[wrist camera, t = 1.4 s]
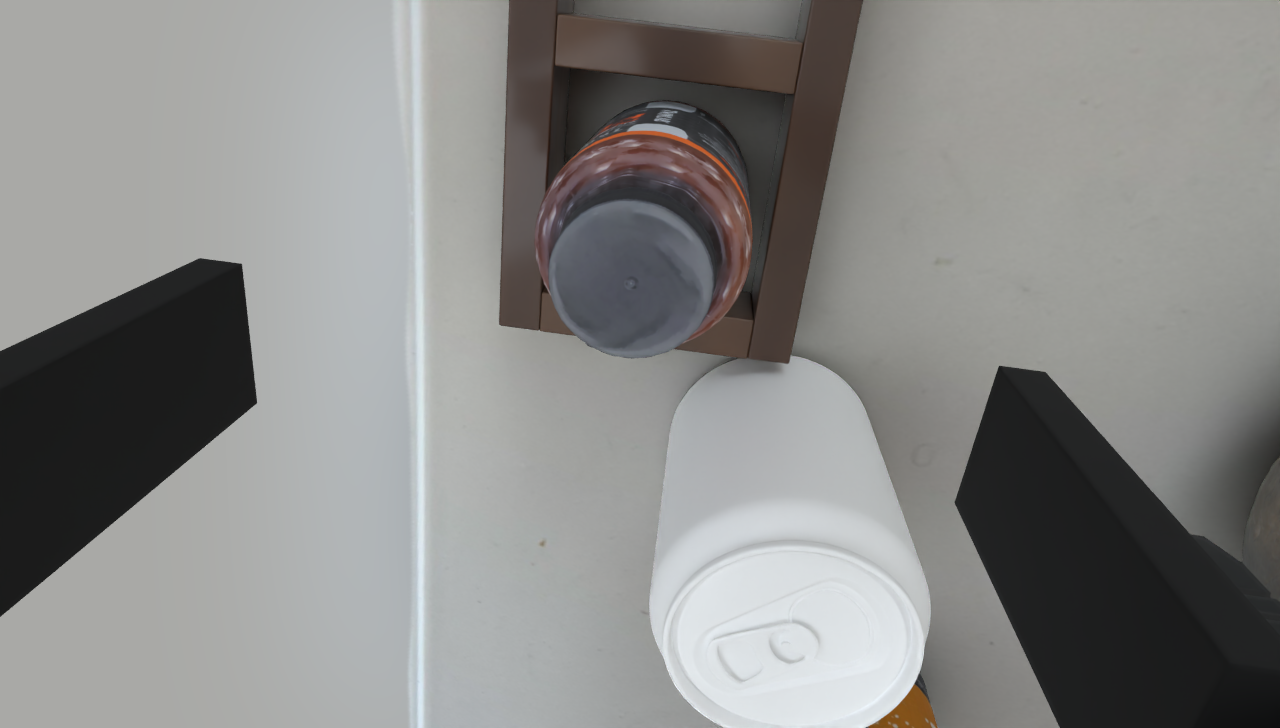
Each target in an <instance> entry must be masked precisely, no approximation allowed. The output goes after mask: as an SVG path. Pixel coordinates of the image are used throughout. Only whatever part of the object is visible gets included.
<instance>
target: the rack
mask: <svg viewBox="0 0 1280 728" xmlns="http://www.w3.org/2000/svg"><path fill="white" fill-rule="evenodd" d="M862 3H863V0H802V5H801V10H800V16H799V22H798V28H797V33H796V39H791V38H783V37H774V36H766V35H757V34H749V33H740V32H731V31H723V30H714V29H706V28H697V27H689V26H680V25H671V24H663V23H654V22H646V21H637V20H629V19H620V18H611V17H603V16H594V15H586V14H577V13H573V12H574V0H509V25H508V57H507V89H506V121H505V153H504V185H503V216H502V248H501V280H500V312H499V324H500V325H501V326H509V327H516V328H524V329H531V330H540V331H544V332H551V333H559V334H566V335H574V336H576V335H575V334H574V333H573V332H571V331H570V329H569V328H568V327H567V326H566V325H565V324H564V322H563V321H562V320H561V318H560V316H559V314H558V312H557V311H556V309H555V306H554V304H553V301H552V297H551V296H550V294H549V292H548V290H547V288H546V286H545V285H544V281H543V279H542V276H541V274H540V271H539V265H538V263H537V259H536V252H535V245H534V241H535V227H536V220H537V216H538V213H539V209H540V205H541V203H542V200H543V198H544V196H545V193H546V191H547V189H548V188H549V186H550V185H551V183H552V182H553V180H554V179H555V177H556V175H557V174H558V173H559V172H560V171H561V170H562V168H563V167H564V155H565V139H566V123H567V107H568V91H569V76H570V68H575V69H583V70H592V71H600V72H608V73H617V74H625V75H633V76H642V77H650V78H658V79H667V80H675V81H683V82H692V83H700V84H708V85H717V86H725V87H734V88H742V89H750V90H759V91H767V92H775V93H784V94H786V97H785V102H784V108H783V114H782V120H781V125H780V131H779V137H778V143H777V148H776V154H775V160H774V166H773V171H772V177H771V183H770V189H769V194H768V200H767V206H766V212H765V217H764V223H763V229H762V235H761V240H760V246H759V252H758V258H757V263H756V269H755V275H754V281H753V286H752V292H751V293H750V292H743V291H741V292H740V294H739V296H738V298H737V300H736V301H735V303H734V304H733V306H732V307H731V308H730V310H729V311H728V312H727V313H726V314H725V315H724V317H723V318H722V319H721V320H720V321H719V322H718V323H717V324H716V325H714V326H713V327H712V328H711V329H709V330H708V331H706V332H705V333H703V334H702V335H700V336H698V337H696V338H694V339H692V340H690V341H688V342H685V343H683V344H681V345H679V346H678V347H676V348H674V349H678V350H685V351H692V352H700V353H707V354H715V355H722V356H730V357H737V358H744V359H747V357H748V358H749V359H754V360H762V361H769V362H777V363H784V364H788V363H789V362H790V357H791V352H792V347H793V342H794V337H795V333H796V328H797V323H798V318H799V313H800V308H801V303H802V298H803V293H804V288H805V283H806V279H807V274H808V269H809V264H810V259H811V254H812V249H813V244H814V239H815V234H816V229H817V224H818V220H819V215H820V210H821V205H822V200H823V195H824V190H825V185H826V180H827V175H828V170H829V166H830V161H831V156H832V151H833V146H834V141H835V136H836V131H837V126H838V121H839V116H840V111H841V107H842V102H843V97H844V92H845V87H846V82H847V77H848V72H849V67H850V62H851V57H852V53H853V48H854V43H855V38H856V33H857V28H858V23H859V18H860V13H861V8H862Z"/></svg>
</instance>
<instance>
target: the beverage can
mask: <svg viewBox="0 0 1280 728" xmlns="http://www.w3.org/2000/svg"><path fill="white" fill-rule="evenodd" d="M649 613H650V621H651V627H652V631H653V634H654V638H655V640H656V643H657V646H658V648H659V650H660V652H661V654H662V656H663V657H664V661H665V664H666V668H667V670H668V673H669V675H670V677H671V679H672V681H673V683H674V685H675V686H676V688H677V689H678V691H679V692H680V693H681V695H682V696H683V697H684V698H685V699H686V700H687V701H688V702H689V703H690V704H691V705H692V706H693V707H694V708H695V709H696V710H697V711H698V712H700V713H701V714H702V715H704V716H705V717H707V718H708V719H710V720H711V721H713V722H715V723H716V724H718V725H720V726H722V727H724V728H866V727H868V726H870V725H872V724H873V723H875V722H877V721H878V720H880V719H881V718H883V717H884V716H886V715H887V714H888V713H890V712H891V711H892V710H893V709H894V708H895V707H896V706H897V705H898V704H899V703H900V702H901V701H902V700H903V699H904V698H905V697H906V695H907V694H908V693H909V691H910V690H911V688H912V687H913V685H914V683H915V681H916V679H917V677H918V675H919V672H920V669H921V666H922V662H923V657H924V645H925V642H926V639H927V636H928V632H929V627H930V619H931V603H930V594H929V589H928V585H927V581H926V578H925V575H924V572H923V569H922V567H921V564H920V561H919V558H918V555H917V553H916V550H915V547H914V544H913V541H912V539H911V536H910V533H909V530H908V527H907V524H906V522H905V519H904V516H903V513H902V510H901V508H900V505H899V502H898V499H897V496H896V494H895V491H894V488H893V485H892V482H891V480H890V477H889V474H888V471H887V468H886V466H885V463H884V460H883V457H882V454H881V452H880V449H879V446H878V443H877V440H876V437H875V435H874V432H873V429H872V426H871V423H870V421H869V418H868V415H867V413H866V410H865V408H864V406H863V404H862V402H861V400H860V399H859V397H858V396H857V394H856V393H855V392H854V390H853V389H852V388H851V387H850V386H849V385H848V384H847V383H846V382H845V381H844V380H843V379H842V378H841V377H840V376H838V375H837V374H836V373H834V372H833V371H831V370H829V369H828V368H826V367H824V366H822V365H820V364H818V363H816V362H813V361H811V360H808V359H805V358H801V357H797V356H792V355H791V357H790V362H789V363H788V364H784V363H777V362H769V361H762V360H754V359H749V358H748V357H747V359H744V358H738V359H735V360H732V361H730V362H727V363H725V364H723V365H721V366H719V367H717V368H715V369H713V370H712V371H710V372H709V373H707V374H706V375H704V376H703V377H702V378H701V379H699V380H698V381H697V382H696V383H695V384H694V385H693V386H692V387H691V388H690V389H689V391H688V392H687V393H686V394H685V396H684V397H683V399H682V400H681V402H680V404H679V405H678V407H677V409H676V412H675V414H674V417H673V420H672V424H671V429H670V435H669V443H668V451H667V459H666V467H665V475H664V483H663V491H662V499H661V508H660V516H659V524H658V532H657V540H656V548H655V556H654V564H653V572H652V581H651V589H650V598H649Z"/></svg>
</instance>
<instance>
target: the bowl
mask: <svg viewBox="0 0 1280 728" xmlns="http://www.w3.org/2000/svg"><path fill="white" fill-rule="evenodd" d="M1242 563H1243V564H1244V565H1245V566H1246V567H1247V568H1248V569H1249V570H1250V572H1251V573H1252V574H1253V575H1254V576H1255V577H1256V578H1257V579H1258V580H1259V581H1260V582H1261V583H1262V584H1263V585H1264V586H1265V587H1266V589H1267V590H1268V591H1269V592H1270V593H1271V594H1270V597H1271V598H1273V599H1277V600H1278V601H1279V602H1280V457H1279V458H1278V459H1276V461H1275V462H1274V464H1273V465H1272V467H1271V468H1270V470H1269V472H1268V474H1267V476H1266V477H1265V480H1264V481H1263V483H1262V484H1261V486H1260V488H1259V490H1258V493H1257V495H1256V498H1255V501H1254V503H1253V506H1252V508H1251V511H1250V514H1249V518H1248V520H1247V524H1246V529H1245V534H1244V541H1243V561H1242Z"/></svg>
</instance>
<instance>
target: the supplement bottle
mask: <svg viewBox="0 0 1280 728" xmlns="http://www.w3.org/2000/svg"><path fill="white" fill-rule="evenodd" d="M752 242H753V240H752V219H751V211H750V199H749V187H748V176H747V170H746V166H745V162H744V160H743V157H742V155H741V152H740V149H739V147H738V145H737V143H736V141H735V140H734V138H733V137H732V135H731V134H730V133H729V131H728V130H727V129H726V128H725V127H724V125H722V123H721V122H720V121H719V120H717V119H716V118H715V117H713V116H712V115H710V114H709V113H707V112H706V111H704V110H702V109H699V108H697V107H695V106H692V105H689V104H687V103H682V102H678V101H669V100H668V101H666V100H663V101H652V102H646V103H642V104H640V105H637V106H634V107H632V108H629V109H627V110H624V111H623V112H622V113H620V114H618V115H617V116H616V117H614V118H613V119H611V120H610V121H608V122H607V123H606V124H605V125H604V126H603V127H602V128H601V129H599V131H598V132H597V133H596V134H594V136H593V137H592V138H591V139H590V140H589V141H588V142H587V143H586V144H585V145H584V146H583V148H581V149H580V150H579V151H578V152H577V153H576V154H575V155H574V156H573V157H572V158H571V159H570V160H569V161H568V162H567V163H566V165H565V166H564V167H563V168H562V170H561V171H560V172H559V173H558V174H557V175H556V177H555V179H554V180H553V182H552V183H551V185H550V186H549V188H548V189H547V191H546V193H545V196H544V198H543V200H542V203H541V205H540V209H539V213H538V216H537V220H536V227H535V241H534V245H535V252H536V259H537V263H538V265H539V271H540V274H541V276H542V279H543V281H544V285H545V286H546V288H547V290H548V292H549V294H550V296H551V297H552V301H553V304H554V306H555V309H556V311H557V312H558V314H559V316H560V318H561V320H562V321H563V322H564V324H565V325H566V326H567V327H568V328H569V329H570V331H571V332H573V333H574V334H575V335H576V336H577V337H578V338H580V339H581V340H582V341H584V342H585V343H586V344H587V345H588V346H590V347H593V348H595V349H597V350H599V351H601V352H603V353H606V354H609V355H612V356H620V357H624V358H646V357H652V356H655V355H658V354H661V353H665V352H668V351H670V350H672V349H674V348H676V347H678V346H679V345H681V344H683V343H685V342H688V341H690V340H692V339H694V338H696V337H698V336H700V335H702V334H703V333H705V332H706V331H708V330H709V329H711V328H712V327H713V326H714V325H716V324H717V323H718V322H719V321H720V320H721V319H722V318H723V317H724V315H725V314H726V313H727V312H728V311H729V310H730V308H731V307H732V306H733V304H734V303H735V301H736V300H737V298H738V296H739V294H740V292H741V290H742V288H743V286H744V284H745V281H746V278H747V275H748V271H749V267H750V262H751V254H752Z"/></svg>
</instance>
